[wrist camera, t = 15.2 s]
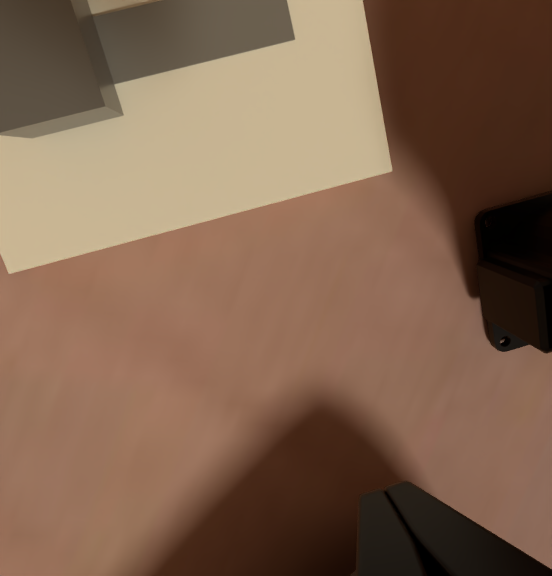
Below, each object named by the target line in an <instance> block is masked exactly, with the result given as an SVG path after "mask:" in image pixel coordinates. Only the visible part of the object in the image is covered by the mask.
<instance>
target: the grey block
mask: <svg viewBox="0 0 552 576" xmlns="http://www.w3.org/2000/svg"><path fill="white" fill-rule="evenodd" d="M120 116H124V114H123V111H122V107H121V104H120V101H119V98H118V95H117V92H116V89H115V86H114V82H113V79H112V76H111V73H110V70H109V67H108V64H107V61H106V57H105V54H104V51H103V48H102V45H101V42H100V39H99V36H98V32H97V29H96V26H95V23H94V20H93V17H92V14H91V10H90V7H89V4H88V1H87V0H0V135H2V136H12V137H22V138H36V137H40V136H44V135H48V134H52V133H56V132H60V131H64V130H68V129H72V128H76V127H80V126H84V125H88V124H92V123H96V122H100V121H104V120H108V119H112V118H116V117H120Z"/></svg>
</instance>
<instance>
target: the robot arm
mask: <svg viewBox="0 0 552 576" xmlns="http://www.w3.org/2000/svg"><path fill="white" fill-rule="evenodd" d="M488 217H491V224H490V225H489V226H487V227H486V225H485V221H486V219H487V218H488ZM475 231H476V238H477V246H478V254H479V262H478V264H477V274H478V282H479V289H480V297H481V304H482V312H483V317H484V318H486V319H487V322H488V330H489V338H490V343H491V345H492V346H493V347H494V348H496V349H497V350H499V351H502V352H506V351H510V350H513V349H516V348H520V347H523V346H526V345H532V346H533V347H535V348H537V349H539V350H540V351H542V352H544V353H550V352H552V191H550V192H546V193H543V194H539V195H535V196H532V197H528V198H524V199H521V200H517V201H514V202H510V203H506V204H503V205H499V206H495V207H492V208H488V209H485V210H482V211H480V212H479V213H478V214H477V216H476V218H475ZM504 336H506V337H505V340H504V342H502V343H500V340H501V339H502V337H504ZM356 576H552V569H550V568H549V567H547V566H545V565H544V564H542V563H540V562H539V561H537V560H536V559H534V558H532V557H531V556H529V555H527V554H526V553H524V552H523V551H521V550H519V549H518V548H516V547H514V546H513V545H511V544H510V543H508V542H506V541H505V540H503V539H502V538H500V537H498V536H497V535H495V534H493V533H492V532H490V531H489V530H487V529H485V528H484V527H482V526H480V525H479V524H477V523H476V522H474V521H472V520H471V519H469V518H467V517H466V516H464V515H463V514H461V513H459V512H458V511H456V510H455V509H453V508H451V507H450V506H448V505H446V504H445V503H443V502H442V501H440V500H438V499H437V498H435V497H433V496H432V495H430V494H429V493H427V492H425V491H424V490H422V489H420V488H419V487H417V486H416V485H414V484H412V483H411V482H409V481H401V482H398V483H395V484H392V485H388V486H386V487H385V488H384V490H382V489H375V490H372V491H369V492H366V493H363V494H361V495H360V496H359V501H358V529H357V556H356Z"/></svg>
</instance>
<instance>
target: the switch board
mask: <svg viewBox="0 0 552 576" xmlns="http://www.w3.org/2000/svg"><path fill="white" fill-rule="evenodd" d="M87 1H88V4H89V7H90V10H91V14H92V17H93V20H94V23H95V26H96V29H97V32H98V36H99V39H100V42H101V45H102V48H103V51H104V54H105V57H106V61H107V64H108V67H109V70H110V73H111V76H112V79H113V82H114V86H115V89H116V92H117V95H118V98H119V101H120V104H121V107H122V111H123V114H124V116H120V117H116V118H112V119H108V120H104V121H100V122H96V123H92V124H88V125H84V126H80V127H76V128H72V129H68V130H64V131H60V132H56V133H52V134H48V135H44V136H40V137H36V138H22V137H12V136H2V135H0V254H1V256H2V259H3V261H4V263H5V266H6V268H7V270H8V273H9V274H11V273H14V272H18V271H22V270H26V269H29V268H33V267H37V266H40V265H44V264H48V263H52V262H55V261H59V260H63V259H67V258H70V257H74V256H78V255H82V254H85V253H89V252H93V251H96V250H100V249H104V248H108V247H111V246H115V245H119V244H123V243H126V242H130V241H134V240H138V239H141V238H145V237H149V236H152V235H156V234H160V233H164V232H167V231H171V230H175V229H179V228H182V227H186V226H190V225H194V224H197V223H201V222H205V221H209V220H212V219H216V218H220V217H223V216H227V215H231V214H235V213H238V212H242V211H246V210H250V209H253V208H257V207H261V206H265V205H268V204H272V203H276V202H279V201H283V200H287V199H291V198H294V197H298V196H302V195H306V194H309V193H313V192H317V191H321V190H324V189H328V188H332V187H335V186H339V185H343V184H347V183H350V182H354V181H358V180H362V179H365V178H369V177H373V176H377V175H380V174H384V173H388V172H392V166H391V160H390V154H389V149H388V143H387V137H386V131H385V126H384V120H383V114H382V108H381V103H380V97H379V91H378V86H377V80H376V74H375V68H374V63H373V57H372V51H371V45H370V40H369V34H368V28H367V22H366V17H365V11H364V5H363V0H87Z"/></svg>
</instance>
